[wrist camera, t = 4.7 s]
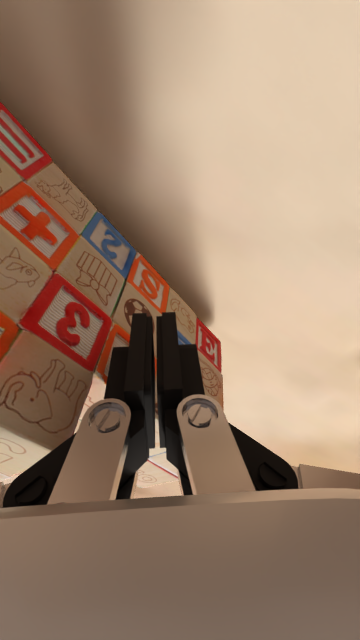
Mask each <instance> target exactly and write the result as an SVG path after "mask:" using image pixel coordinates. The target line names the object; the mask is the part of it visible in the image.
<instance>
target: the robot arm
mask: <svg viewBox="0 0 360 640" xmlns="http://www.w3.org/2000/svg"><path fill="white" fill-rule="evenodd" d="M156 344H157V404H158V423H159V441H160V448H166V459H167V460H168V461H169V462H170V463H171V464H172V465H174V466H175V467H176V468H177V475H178V480H179V485H180V489H181V494H182V496H168V497H153V498H138V499H134V494H135V489H136V484H137V479H138V469H139V468H140V467H141V466H142V465H143V464H144V463H145V462H146V461H147V460H148V458H149V449H154V448H155V357H154V339H153V321H152V316H147V313H133V314H132V323H131V332H130V341H129V346H128V347H113V350H112V355H111V360H110V366H109V372H108V377H107V383H106V389H105V395H104V400H100V401H98V402H96V403H94V404H93V405H91V406H90V407H89V408H88V409H87V411H86V412H85V414H84V416H83V418H82V421H81V423H80V426H79V428H78V430H77V432H76V433H75V434H74V435H72V436H71V437H70V438H68V439H67V440H66V441H64V442H63V443H62V444H60V445H59V446H58V447H56V448H55V449H54V450H52V451H51V452H50V453H48V454H47V455H46V456H44V457H43V458H42V459H40V460H39V461H38V462H36V463H35V464H34V465H32V466H31V467H30V468H28V469H27V470H26V471H24V472H23V473H22V474H20V475H19V476H18V477H17V478H16V479H15V480H14V481H13V482H12V483H9V484H6V485H4V484H3V482H0V640H360V474H358V473H351V472H345V471H339V470H333V469H327V468H321V467H315V466H309V465H303V464H299V467H295V466H290V465H289V464H288V463H287V462H286V461H285V460H283V459H282V458H281V457H279V456H278V455H276V454H275V453H273V452H272V451H270V450H269V449H267V448H266V447H264V446H263V445H261V444H260V443H258V442H257V441H255V440H254V439H252V438H251V437H249V436H248V435H246V434H245V433H243V432H242V431H240V430H239V429H237V428H236V427H234V426H233V425H231V424H230V423H228V421H227V419H226V416H225V414H224V412H223V409H222V407H221V406H220V404H219V403H218V402H217V401H216V400H215V399H214V398H211V397H209V396H207V395H205V392H204V386H203V380H202V374H201V368H200V362H199V356H198V350H197V345H196V344H182V345H179V344H178V333H177V323H176V313H175V312H162V316H156Z"/></svg>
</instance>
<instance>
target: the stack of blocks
mask: <svg viewBox="0 0 360 640" xmlns="http://www.w3.org/2000/svg"><path fill="white" fill-rule="evenodd" d="M162 312H175V313H176V323H177V333H178V344H179V345H182V344H196V345H197V350H198V356H199V362H200V368H201V374H202V380H203V386H204V392H205V395H207V396H209V397H211V398H214V399H215V400H216V401H217V402H218V403H219V404H220V406H221V407H222V409H223V377H222V374H221V342H220V341H219V340H218V339H217V338H216V337H215V336H214V334H213V333H212V332H211V331H210V330H209V329H208V328H207V327H206V326H205V325H204V324H203V323H202V322H201V321H200V320H199V319H198V318H196V314H195V313H194V312H193V311H192V309H191V308H190V307H189V306H188V305H187V304H186V303H185V302H184V301H183V300H182V299H181V298H180V296H179V295H178V294H177V293H176V292H175V291H174V290H173V289H172V288H170V287H169V285H168V284H167V283H166V281H165V280H164V279H163V278H162V277H161V276H160V275H159V274H158V273H157V271H156V270H155V269H154V268H153V267H152V266H151V265H150V264H149V263H148V262H147V260H146V259H145V258H144V257H143V256H142V255H141V254H140V253H138V252H136V251H135V249H134V248H133V247H132V246H131V245H130V244H129V243H128V242H127V240H126V239H125V238H124V237H123V236H122V235H121V234H120V233H119V232H118V231H117V230H116V229H115V228H114V227H113V225H112V224H111V223H110V222H109V221H108V220H107V219H106V218H105V217H104V216H103V214H102V213H100V212H99V211H97V209H96V208H95V206H94V205H93V204H92V203H91V202H90V201H89V200H88V199H87V198H86V197H85V196H84V195H83V194H82V193H81V191H80V190H79V189H78V188H77V187H76V186H75V185H74V184H73V183H72V182H71V181H70V180H69V179H68V178H67V176H66V175H65V174H64V173H63V172H62V171H61V170H60V169H59V168H58V166H56V165H55V164H54V163H53V161H52V159H51V157H50V156H49V155H48V154H47V153H46V151H45V150H44V149H43V148H42V147H41V146H40V145H39V144H38V143H37V141H36V140H35V139H34V138H33V137H32V136H31V135H30V134H29V133H28V132H27V131H26V129H25V128H24V127H23V126H22V125H21V124H20V123H19V122H18V121H17V120H16V119H15V117H14V116H13V115H12V114H11V113H10V112H9V111H8V110H7V109H6V108H5V106H4V105H3V104H2V103H1V102H0V482H1V481H3V480H6V479H9V478H11V477H12V476H14V475H17V474H19V473H21V472H24V471H26V470H27V469H28V468H30V467H31V466H32V465H34V464H35V463H36V462H38V461H39V460H40V459H42V458H43V457H44V456H46V455H47V454H48V453H50V452H51V451H52V450H54V449H55V448H56V447H58V446H59V445H60V444H62V443H63V442H64V441H66V440H67V439H68V438H70V437H71V436H72V435H74V434H75V433H76V432H77V430H78V428H79V426H80V423H81V421H82V418H83V416H84V414H85V412H86V411H87V409H88V408H89V407H90V406H91V405H93V404H94V403H96V402H98V401H100V400H104V395H105V389H106V383H107V377H108V372H109V366H110V360H111V355H112V350H113V347H128V346H129V341H130V332H131V323H132V314H133V313H147V316H152V321H153V339H154V357H155V448H154V449H149V458H148V460H147V461H146V462H145V463H144V464H143V465H142V466H141V467H140V468H139V469H138V479H137V484H136V486H138V487H140V488H146V487H151V486H155V485H159V484H164V483H169V482H174V481H178V475H177V468H176V467H175V466H174V465H172V464H171V463H170V462H169V461H168V460H167V459H166V448H160V441H159V423H158V404H157V344H156V316H162Z"/></svg>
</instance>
